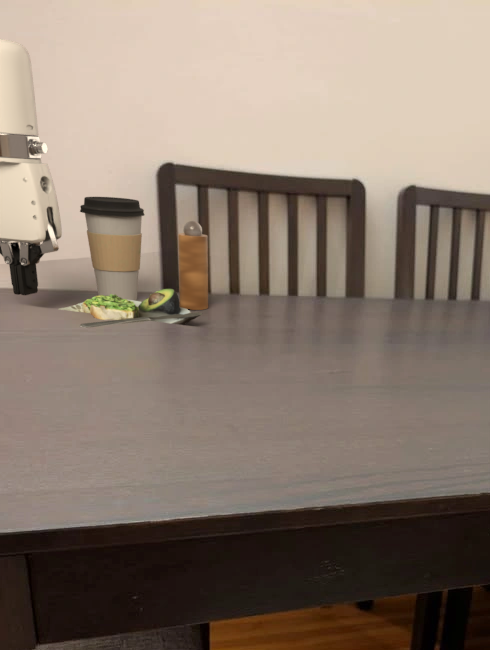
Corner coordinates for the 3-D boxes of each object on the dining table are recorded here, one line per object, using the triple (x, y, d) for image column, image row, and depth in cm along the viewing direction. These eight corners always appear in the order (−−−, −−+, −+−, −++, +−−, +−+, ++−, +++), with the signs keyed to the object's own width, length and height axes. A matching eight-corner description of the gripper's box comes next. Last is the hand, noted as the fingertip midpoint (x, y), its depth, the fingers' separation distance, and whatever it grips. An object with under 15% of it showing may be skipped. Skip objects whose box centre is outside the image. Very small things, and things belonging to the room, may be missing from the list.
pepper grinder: (175, 307, 114) (172, 220, 109) (186, 303, 118) (185, 218, 113) (201, 311, 113) (200, 223, 108) (212, 306, 117) (211, 221, 112)
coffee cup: (160, 300, 118) (157, 202, 112) (114, 307, 111) (107, 202, 105) (120, 291, 123) (115, 196, 117) (73, 297, 115) (65, 196, 109)
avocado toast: (140, 351, 89) (139, 313, 87) (17, 330, 93) (13, 294, 91) (213, 323, 106) (213, 291, 105) (106, 307, 111) (104, 276, 109)
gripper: (77, 154, 97) (89, 294, 104) (-24, 146, 99) (-5, 284, 106) (44, 152, 90) (59, 303, 97) (-64, 145, 92) (-41, 292, 99)
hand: (26, 293), depth 102 cm, fingers closed
